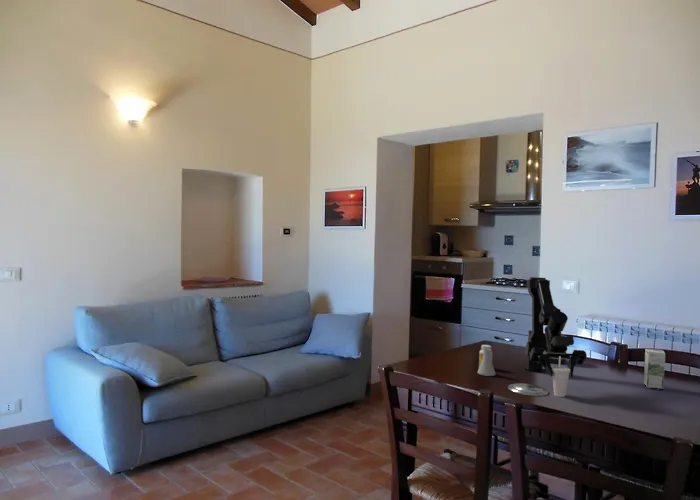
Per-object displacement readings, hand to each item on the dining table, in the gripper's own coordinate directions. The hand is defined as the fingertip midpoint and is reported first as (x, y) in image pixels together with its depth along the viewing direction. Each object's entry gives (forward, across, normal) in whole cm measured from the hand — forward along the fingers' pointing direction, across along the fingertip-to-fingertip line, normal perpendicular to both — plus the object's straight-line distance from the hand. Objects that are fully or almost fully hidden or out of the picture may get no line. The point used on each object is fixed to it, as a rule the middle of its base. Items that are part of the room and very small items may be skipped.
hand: (561, 376), depth 181 cm
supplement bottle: (-19, -21, +30) cm, 41 cm away
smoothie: (+4, 0, +6) cm, 7 cm away
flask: (-12, -22, +23) cm, 34 cm away
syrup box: (-10, +40, +20) cm, 46 cm away
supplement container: (-35, +13, +45) cm, 58 cm away
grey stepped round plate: (+1, -10, +9) cm, 13 cm away
